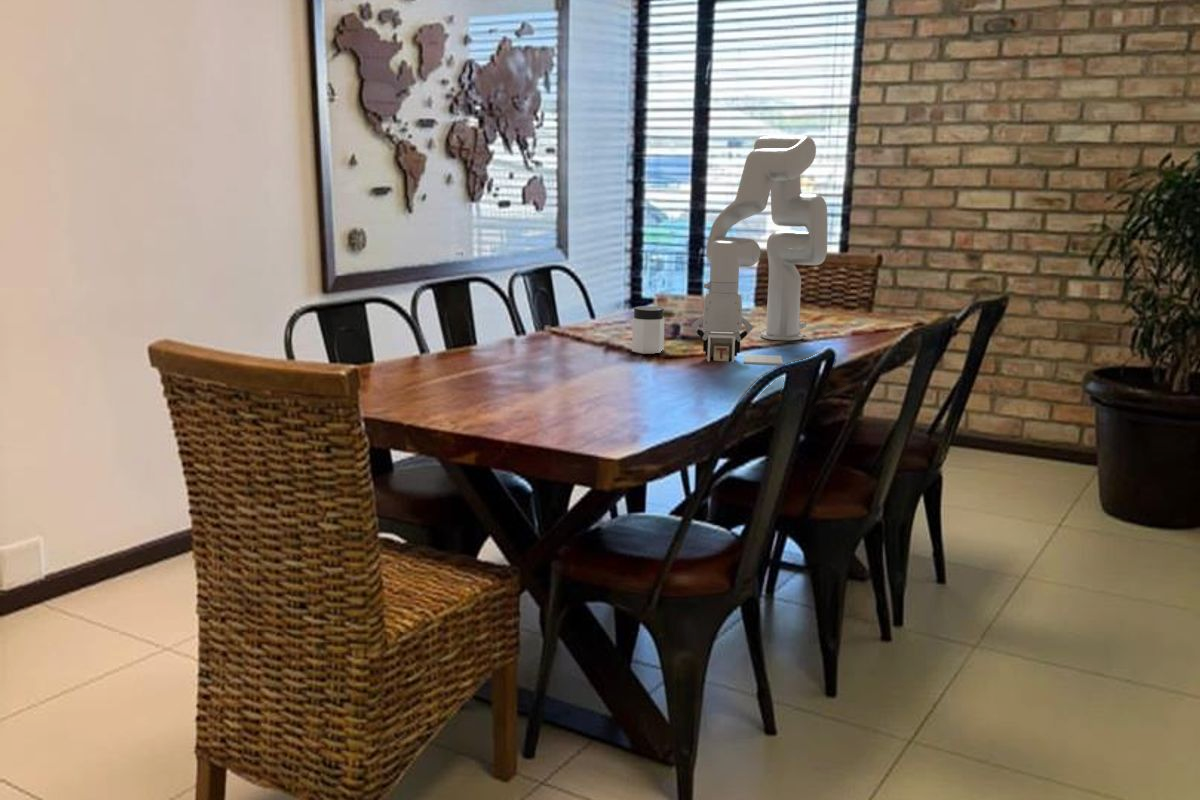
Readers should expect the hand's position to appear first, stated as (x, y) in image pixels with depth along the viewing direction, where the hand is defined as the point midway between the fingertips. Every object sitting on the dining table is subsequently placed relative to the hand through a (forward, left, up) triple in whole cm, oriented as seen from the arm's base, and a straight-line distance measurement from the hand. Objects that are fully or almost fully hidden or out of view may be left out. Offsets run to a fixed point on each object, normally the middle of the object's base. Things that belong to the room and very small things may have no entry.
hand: (721, 354), depth 273 cm
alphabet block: (0, 0, -1) cm, 1 cm away
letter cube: (0, 0, -1) cm, 1 cm away
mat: (-7, +8, -1) cm, 11 cm away
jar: (+6, -21, -2) cm, 22 cm away
